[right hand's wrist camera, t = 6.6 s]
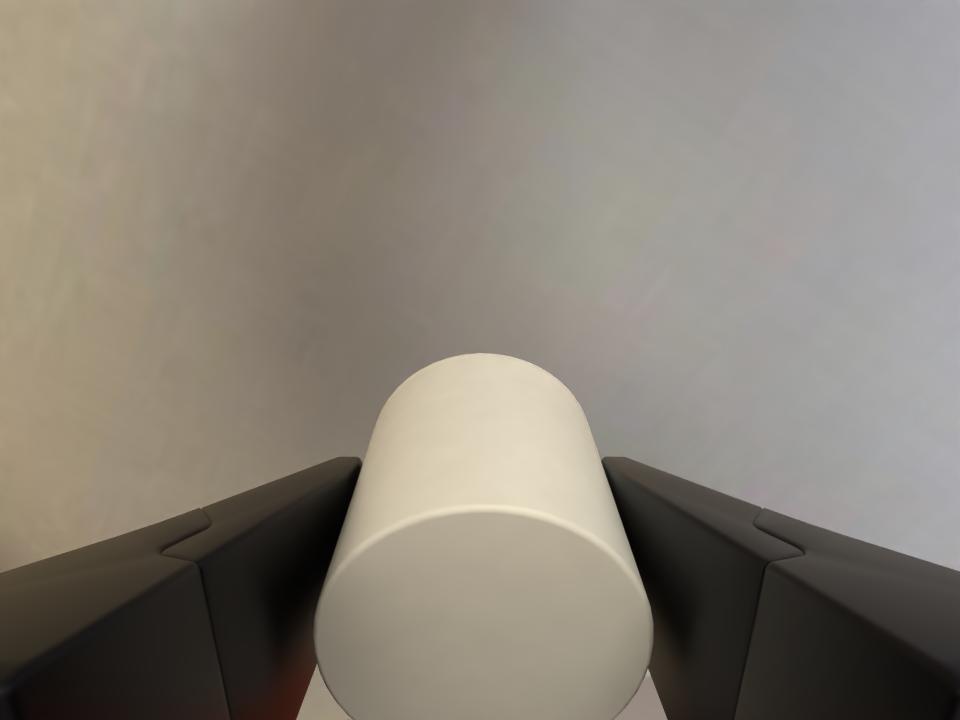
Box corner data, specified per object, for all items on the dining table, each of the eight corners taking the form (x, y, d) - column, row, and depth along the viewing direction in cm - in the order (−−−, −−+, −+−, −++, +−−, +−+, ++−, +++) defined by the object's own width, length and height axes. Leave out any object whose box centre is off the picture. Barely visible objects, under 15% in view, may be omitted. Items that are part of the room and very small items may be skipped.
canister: (357, 522, 13) (292, 741, 8) (393, 329, 11) (336, 474, 7) (558, 559, 13) (598, 790, 9) (619, 377, 12) (706, 545, 7)
